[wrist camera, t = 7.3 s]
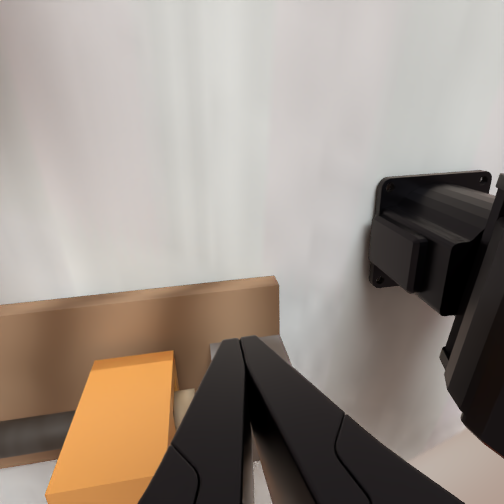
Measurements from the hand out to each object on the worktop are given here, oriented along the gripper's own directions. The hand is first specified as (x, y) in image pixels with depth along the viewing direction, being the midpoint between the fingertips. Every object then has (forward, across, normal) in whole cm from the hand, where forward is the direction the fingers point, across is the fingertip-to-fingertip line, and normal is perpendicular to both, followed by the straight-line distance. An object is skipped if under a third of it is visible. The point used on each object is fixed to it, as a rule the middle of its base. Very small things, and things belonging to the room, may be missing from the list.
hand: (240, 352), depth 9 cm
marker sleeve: (+9, +5, +8) cm, 13 cm away
